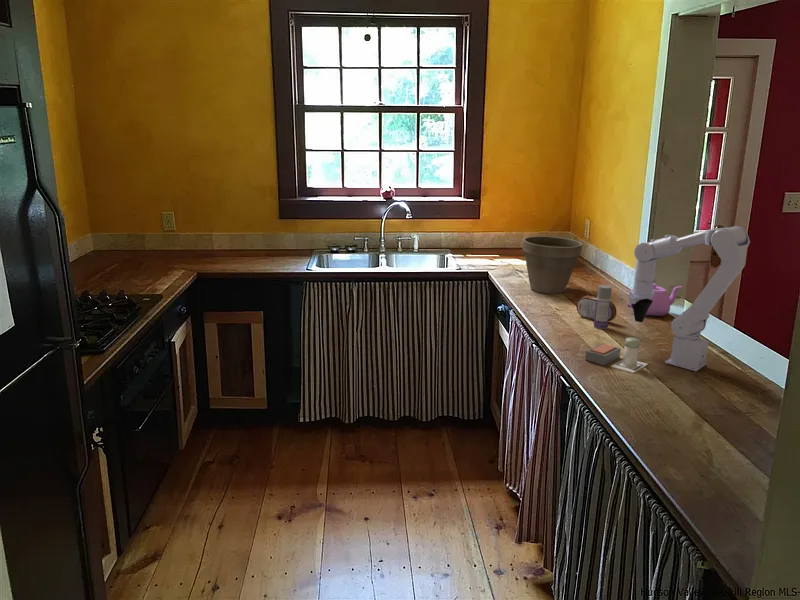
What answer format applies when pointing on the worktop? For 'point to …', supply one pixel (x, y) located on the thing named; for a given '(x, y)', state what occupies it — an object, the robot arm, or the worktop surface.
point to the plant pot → (550, 262)
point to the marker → (631, 352)
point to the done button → (603, 349)
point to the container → (602, 307)
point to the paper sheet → (629, 369)
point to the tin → (592, 308)
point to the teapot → (660, 301)
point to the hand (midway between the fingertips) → (638, 321)
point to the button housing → (602, 356)
